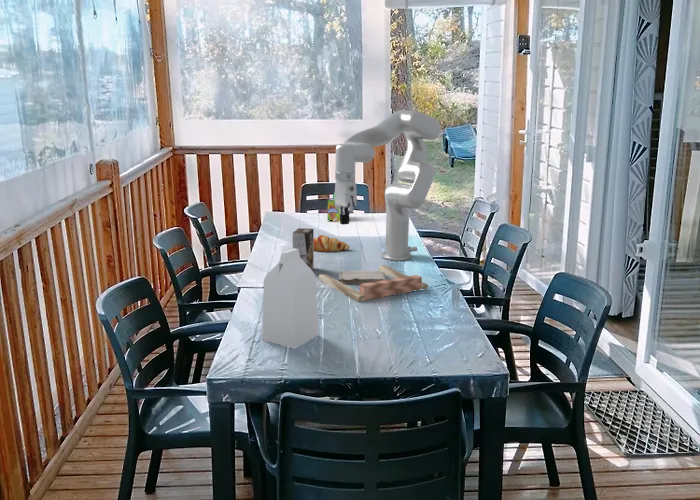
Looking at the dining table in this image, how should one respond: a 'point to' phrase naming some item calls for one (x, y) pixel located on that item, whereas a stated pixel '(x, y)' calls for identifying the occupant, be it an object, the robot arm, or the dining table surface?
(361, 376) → the dining table surface
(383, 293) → the wooden frame
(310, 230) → the coffee box
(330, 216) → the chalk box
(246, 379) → the dining table surface
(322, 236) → the croissant
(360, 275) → the washcloth
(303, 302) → the milk
